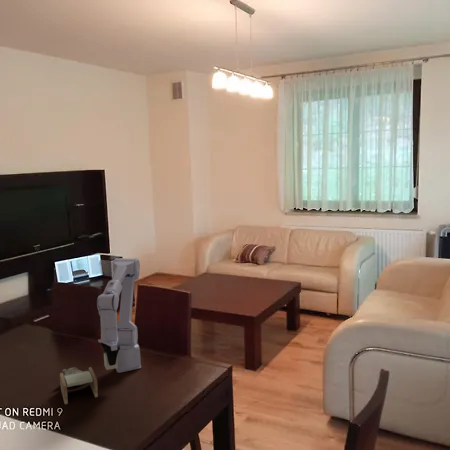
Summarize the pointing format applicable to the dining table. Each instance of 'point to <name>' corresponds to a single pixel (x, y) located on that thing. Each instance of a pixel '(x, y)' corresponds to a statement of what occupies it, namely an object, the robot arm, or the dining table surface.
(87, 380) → the pale grey slab
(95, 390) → the tan piece
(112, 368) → the plain off-white cube
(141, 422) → the dining table surface
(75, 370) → the rock sample
